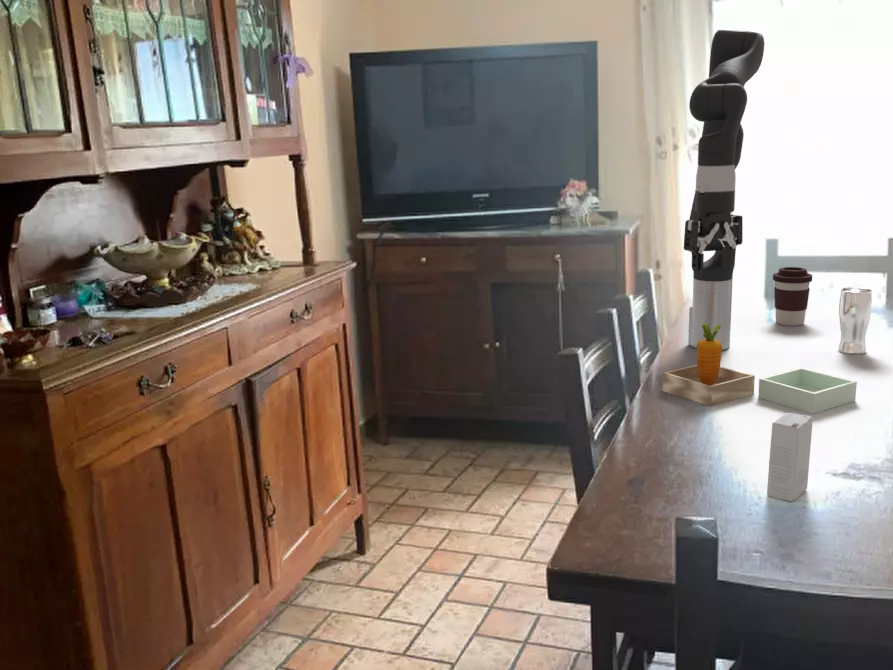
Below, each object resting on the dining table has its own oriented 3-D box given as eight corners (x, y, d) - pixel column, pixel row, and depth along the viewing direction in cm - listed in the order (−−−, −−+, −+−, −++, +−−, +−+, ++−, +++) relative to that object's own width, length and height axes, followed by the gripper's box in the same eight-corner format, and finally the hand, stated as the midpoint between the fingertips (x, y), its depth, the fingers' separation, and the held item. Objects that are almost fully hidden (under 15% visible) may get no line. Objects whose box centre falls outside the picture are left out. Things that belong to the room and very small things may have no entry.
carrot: (720, 389, 191) (723, 320, 187) (719, 396, 186) (722, 325, 183) (696, 388, 192) (698, 319, 189) (694, 395, 188) (696, 324, 184)
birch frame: (662, 390, 191) (662, 372, 191) (706, 380, 198) (706, 362, 197) (709, 406, 181) (710, 387, 180) (753, 394, 187) (754, 375, 186)
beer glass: (871, 355, 213) (876, 292, 209) (839, 354, 214) (843, 292, 210) (864, 348, 219) (868, 287, 216) (833, 347, 221) (837, 287, 217)
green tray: (758, 397, 185) (759, 378, 184) (800, 385, 192) (801, 367, 191) (813, 413, 174) (814, 393, 173) (855, 400, 181) (856, 381, 180)
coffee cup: (812, 321, 248) (816, 267, 244) (805, 328, 240) (808, 272, 236) (775, 317, 253) (778, 264, 249) (766, 325, 245) (769, 270, 241)
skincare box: (780, 483, 143) (784, 410, 140) (809, 490, 140) (814, 416, 137) (765, 496, 138) (769, 421, 135) (795, 504, 135) (799, 427, 132)
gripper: (725, 185, 186) (722, 263, 190) (675, 190, 179) (673, 271, 183) (755, 186, 180) (751, 267, 184) (704, 191, 173) (701, 275, 176)
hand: (712, 269), depth 183 cm, fingers open, 8 cm apart
